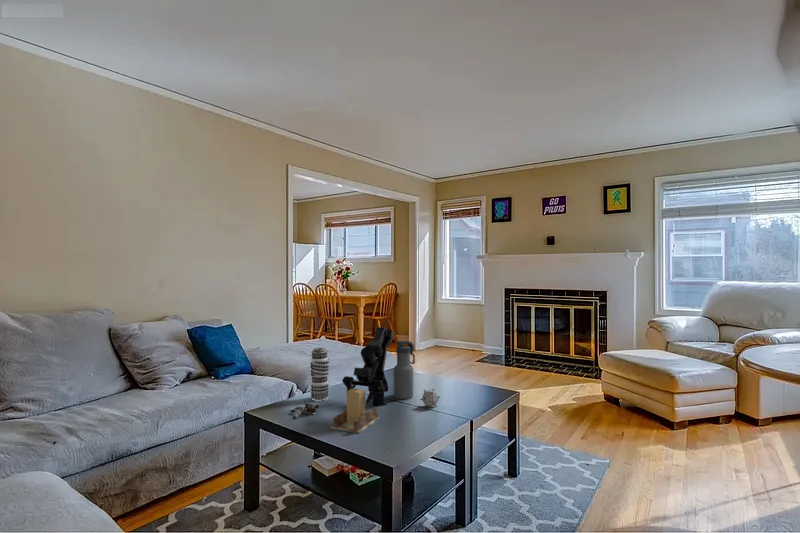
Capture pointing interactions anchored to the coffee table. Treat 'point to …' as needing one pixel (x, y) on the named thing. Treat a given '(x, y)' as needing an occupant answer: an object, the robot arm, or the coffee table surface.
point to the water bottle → (404, 371)
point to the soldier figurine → (305, 409)
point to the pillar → (355, 404)
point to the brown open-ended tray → (355, 421)
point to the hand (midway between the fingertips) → (357, 402)
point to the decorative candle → (319, 374)
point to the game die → (430, 398)
